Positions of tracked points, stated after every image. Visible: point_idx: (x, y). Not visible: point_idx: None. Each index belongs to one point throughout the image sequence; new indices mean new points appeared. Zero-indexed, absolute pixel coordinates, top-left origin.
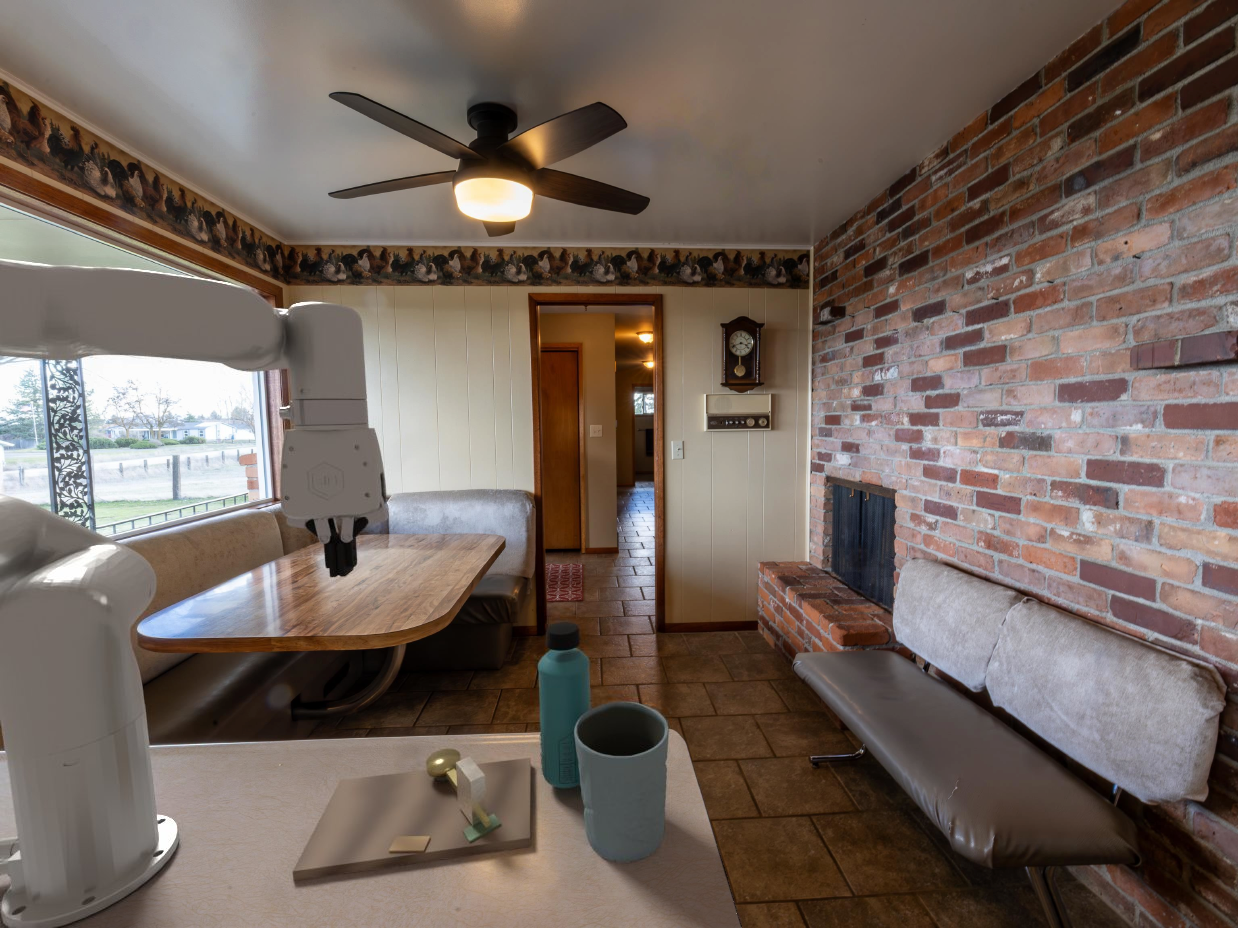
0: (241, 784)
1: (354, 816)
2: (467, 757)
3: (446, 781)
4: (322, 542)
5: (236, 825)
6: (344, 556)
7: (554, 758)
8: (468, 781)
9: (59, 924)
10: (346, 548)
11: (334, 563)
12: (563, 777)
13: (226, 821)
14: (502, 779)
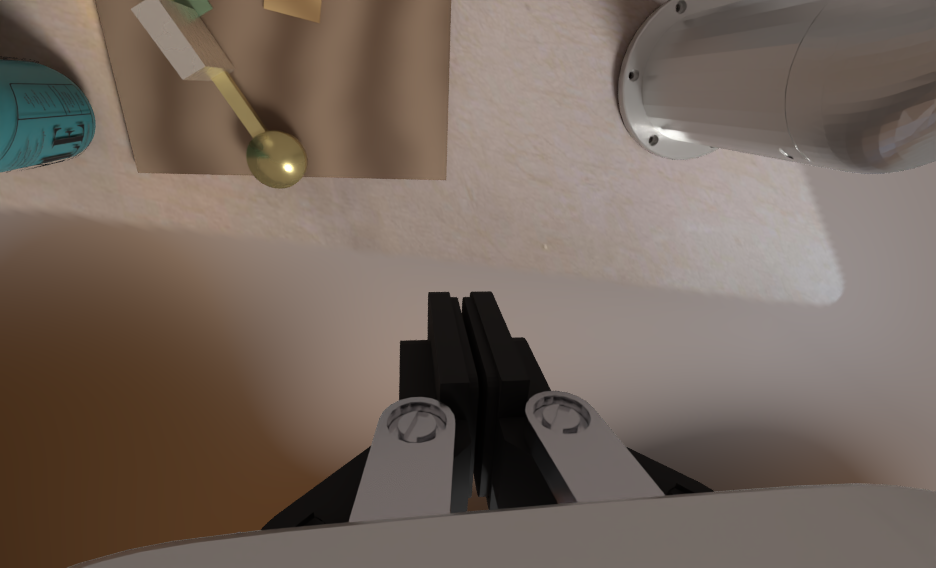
0: (582, 213)
1: (399, 89)
2: (186, 77)
3: None
4: (564, 393)
5: (560, 128)
6: (433, 349)
7: (16, 68)
8: (164, 5)
9: None
10: (429, 393)
11: (478, 323)
12: (25, 62)
13: (575, 140)
14: (176, 124)
